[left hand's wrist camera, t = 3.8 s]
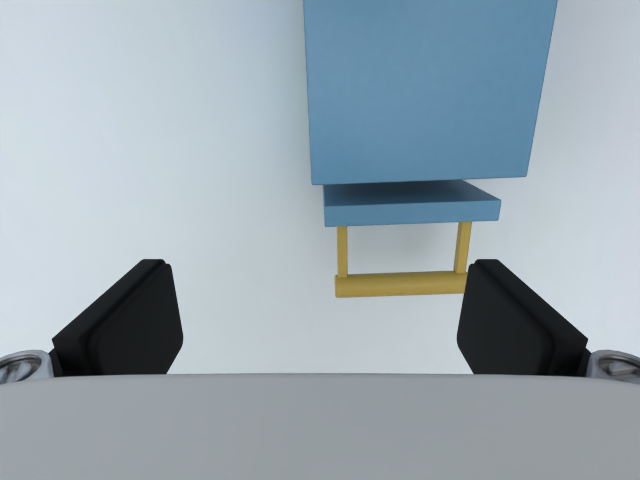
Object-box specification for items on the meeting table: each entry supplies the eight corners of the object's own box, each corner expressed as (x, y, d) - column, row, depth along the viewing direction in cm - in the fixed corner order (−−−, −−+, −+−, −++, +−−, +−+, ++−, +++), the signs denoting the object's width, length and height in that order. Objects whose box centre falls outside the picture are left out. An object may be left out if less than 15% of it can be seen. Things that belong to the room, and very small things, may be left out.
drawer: (445, 258, 28) (485, 306, 21) (325, 263, 28) (327, 311, 22) (486, -140, 19) (574, -269, 13) (311, -132, 19) (308, -256, 13)
